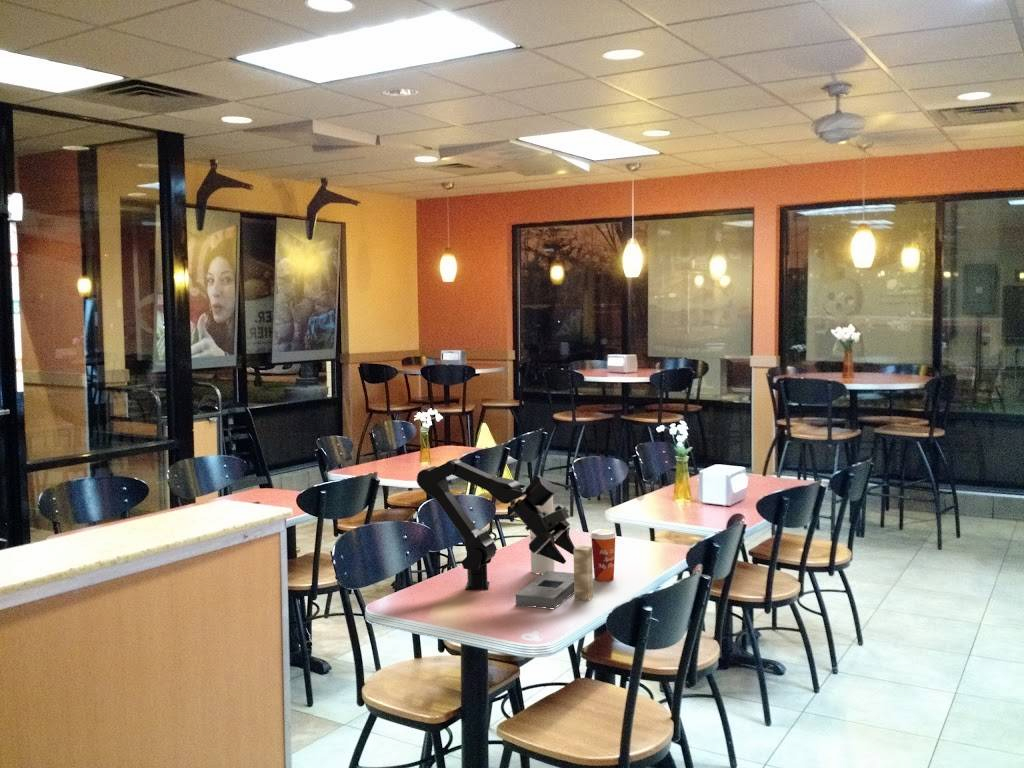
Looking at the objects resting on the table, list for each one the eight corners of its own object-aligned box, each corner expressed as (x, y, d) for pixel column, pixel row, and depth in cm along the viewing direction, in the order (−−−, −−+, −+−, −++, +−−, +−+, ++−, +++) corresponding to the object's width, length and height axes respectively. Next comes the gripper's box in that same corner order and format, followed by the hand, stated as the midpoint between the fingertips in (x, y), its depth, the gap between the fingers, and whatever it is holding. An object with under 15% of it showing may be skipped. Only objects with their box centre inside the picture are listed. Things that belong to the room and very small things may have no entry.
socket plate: (515, 605, 247) (515, 594, 247) (547, 580, 269) (547, 570, 269) (554, 609, 243) (553, 598, 242) (583, 584, 265) (583, 574, 264)
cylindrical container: (558, 572, 277) (556, 491, 275) (536, 575, 275) (534, 493, 273) (548, 566, 284) (546, 487, 282) (527, 569, 281) (525, 489, 279)
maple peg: (574, 599, 251) (573, 549, 250) (579, 595, 255) (578, 545, 254) (588, 600, 249) (587, 550, 248) (593, 596, 253) (591, 546, 252)
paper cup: (604, 584, 264) (603, 536, 263) (585, 578, 270) (584, 531, 269) (623, 578, 269) (622, 531, 268) (604, 573, 275) (603, 527, 274)
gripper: (538, 504, 245) (578, 547, 241) (562, 491, 262) (600, 531, 258) (512, 531, 249) (551, 574, 245) (537, 517, 266) (574, 557, 262)
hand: (570, 558), depth 253 cm, fingers open, 9 cm apart
